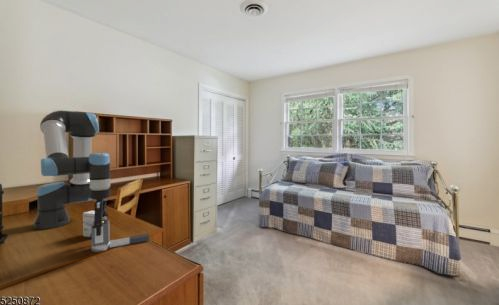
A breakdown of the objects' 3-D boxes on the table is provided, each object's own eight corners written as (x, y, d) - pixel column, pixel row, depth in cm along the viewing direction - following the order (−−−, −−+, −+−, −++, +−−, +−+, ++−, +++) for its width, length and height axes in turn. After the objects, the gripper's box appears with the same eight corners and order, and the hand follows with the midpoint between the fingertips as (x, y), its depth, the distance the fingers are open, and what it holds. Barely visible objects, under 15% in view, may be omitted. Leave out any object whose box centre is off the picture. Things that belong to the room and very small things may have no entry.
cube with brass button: (93, 241, 99) (93, 220, 98) (109, 238, 101) (109, 218, 101) (91, 246, 93) (91, 225, 93) (108, 243, 96) (108, 222, 96)
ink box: (105, 234, 112) (104, 211, 112) (95, 238, 108) (95, 214, 107) (92, 232, 115) (91, 209, 114) (82, 236, 110) (82, 212, 109)
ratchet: (90, 253, 93) (90, 238, 92) (93, 246, 99) (92, 232, 99) (149, 242, 103) (148, 228, 103) (148, 236, 109) (148, 223, 109)
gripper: (94, 184, 106) (95, 228, 107) (83, 195, 84) (85, 250, 84) (112, 183, 109) (113, 225, 110) (107, 193, 87) (108, 246, 88)
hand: (101, 236), depth 97 cm, fingers open, 13 cm apart
